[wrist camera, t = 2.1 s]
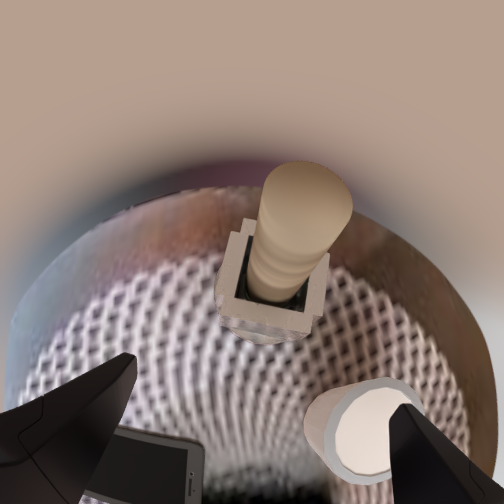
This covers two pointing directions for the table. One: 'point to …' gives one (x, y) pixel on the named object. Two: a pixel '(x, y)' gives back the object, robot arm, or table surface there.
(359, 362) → the table surface
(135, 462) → the cell phone
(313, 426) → the white short cylinder
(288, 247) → the post
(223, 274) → the stand
